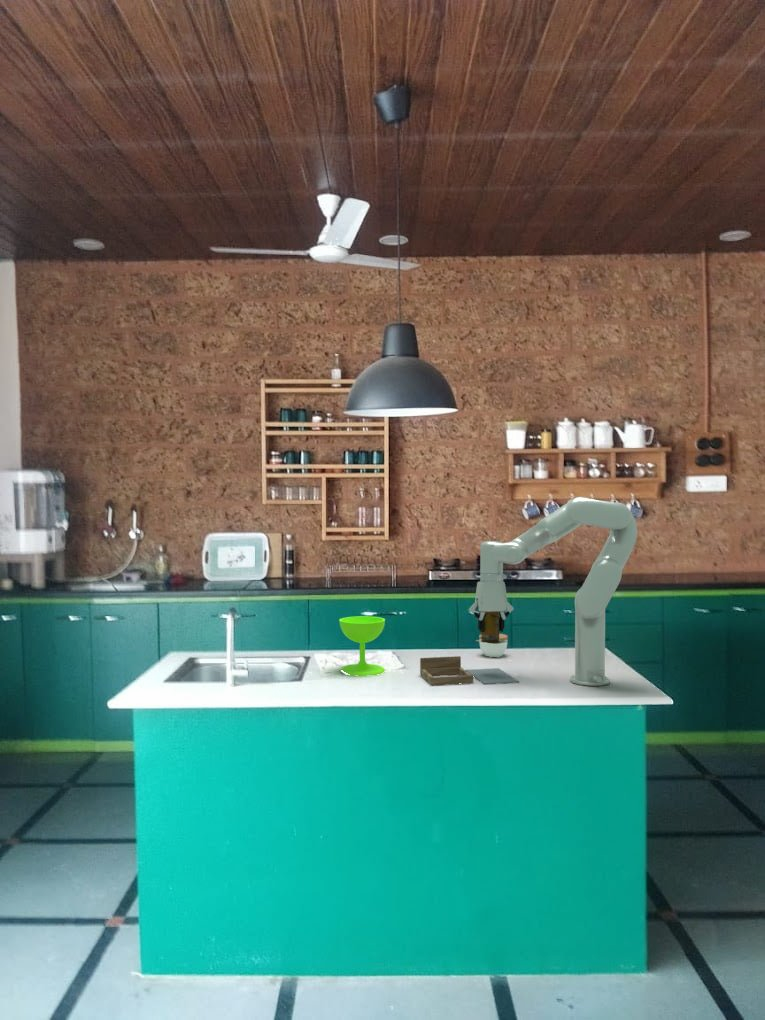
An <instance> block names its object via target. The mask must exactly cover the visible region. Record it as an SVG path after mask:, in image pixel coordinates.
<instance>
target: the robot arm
mask: <svg viewBox="0 0 765 1020" xmlns="http://www.w3.org/2000/svg"><path fill="white" fill-rule="evenodd" d="M582 525H585V526H589V527H595V528H603V529H609V534H608V538H607V539H606V541H605V543H604V545H603V548H602V549H601V551H600V553H599V555H598V556H597V558H596V559H595V561H593V564H592V566H591V569H590V571H589V572H588V575H587V577H586V578H585V581H584V582H583V583H582V586H581V587H580V588H579V589H578V590H577V591H576V594H575V597H574V607H575V611H574V615H575V617H574V619H575V621H574V622H575V623H574V625H575V626H574V631H575V634H574V674H573V675H571V676H570V678H569V681H570V682H572V683H574V684H576V685H581V686H589V687H590V686H592V687H595V686H606V685H608V684H610V683H611V682H610V681H611V680H610V678H609V677H607V676H606V670H605V669H606V608H607V606H608V604H609V603H610V600H611V598H612V597H613V595H614V594H615V591H616V590H617V588H618V587H619V584H620V582H621V580H622V577H623V576H622V575H623V573H622V571H623V569H624V567H625V565H626V563H627V562H628V560H629V558H630V556H631V554H632V551H633V550H634V547H635V544H636V542H637V537H638V526H637V522H636V518H635V517H634V514H632V512H631V510H630V509H629V507H628V506H627V505H626V504H624V503H622V502H617V501H615V502H613V501H606V500H599V499H594V498H588V497H585V496H577V497H575V498H573V499H571V500H570V501H567V503H565V504H564V505H562V506H560V507H559V508H558V509H556V510H554V511H553V512H551V513H549V514H548V515H547V516H545V517H543V518H542V519H541V520H540V521H538V522H537V523H536V524H535V525H533V526H532V527H531V528H529V529H528V530H527V531H525V532H524V533H521V534H520V535H519V536H517V537H515V538H514V539H513V540H511V541H507V542H501V541H495V540H489V541H487V540H486V541H483V542H481V544H480V548H479V549H480V554H479V555H480V560H479V561H480V564H479V565H480V567H479V568H480V569H479V572H480V573H479V574H480V575H479V578H480V581H477V583H476V591H475V599H474V603H472V605H471V606H470V607H469V608H468V610H469V612H470V613H471V614H472V615H473V616H474V617H475V618H476V619H477V629H478V631H479V632H480V633H481V632H484V621H483V617H484V614H485V612H498V614H499V632H502V633H503V632H504V630H505V620H506V619H507V617H508V616H509V615H510V614H511V612H513V611H514V610H515V608H514V606H513V605H511V603H510V602H509V601H508V594H507V590H506V589H507V588H506V584H505V581H504V580H505V579H507V578H508V575H507V573H506V574H505V573H504V564H507V565H517V564H521V562H523V561H524V560H525V559H526V558H528V557H529V556H531V555H533V554H534V553H536V552H537V551H539V550H541V549H542V548H544V547H545V546H547V545H550V544H553V543H555V542H556V541H559V540H560V539H562V538H563V537H564V536H566V535H568V534H569V533H571V532H573V531H574V530H576V529H577V528H579V527H580V526H582ZM477 611H478V612H477Z"/></svg>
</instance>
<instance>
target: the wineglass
mask: <svg viewBox="0 0 765 1020" xmlns="http://www.w3.org/2000/svg"><path fill="white" fill-rule="evenodd" d="M338 621H339V627H340V629H341V632H342V633H343V635H344V636H345V637H346V638H347V639H349V640H350V641H352V642H355V643H358V644H359V661H358V663H354V664H353V663H352V664H348V665H343V666H342V667H341V668H340V669H341V670H343V671H344V672H346V673H348V674H350V675H358V676H357V677H368V676H367V675H375V676H378V675H377V674H380V675H382V674H381V673H383V672H384V671H385V672H386V669H385V668H384V667H383V666H381V665H379V664H374V663H367V661H366V643H370V642H372V641H374V640H375V639H377V638H378V637H379V636H380V634H382V632H383V631H384V629H385V625H386V624H385V623H386V619H385V618H383V617H379V616H370V615H368V616H365V615H360V616H359V615H358V616H347V617H342V618H339V619H338ZM385 672H384V673H385ZM384 673H383V674H384Z"/></svg>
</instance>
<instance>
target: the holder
mask: <svg viewBox="0 0 765 1020" xmlns="http://www.w3.org/2000/svg"><path fill="white" fill-rule="evenodd" d="M461 657H462V656H459V655H456V656H436V657H435V656H434V657H420V658H419V668H420V669H419V672H420V673H419V675H421V676H422V677H423V680H425V682H426V683H428V682H429V683H430V684H431V685H436V686H446V685H445V684H455V685H460V684H459V683H473V684H474V677H473V675H471V674H470V673H468V672H467V671H466V670H467V669H464V668H463V667H461V664H462V663H461V659H462V658H461ZM456 674H459V675H460V676H459V675H456ZM440 675H448V676H440ZM421 676H420V677H421ZM422 677H421V678H422ZM429 683H428V684H429ZM430 684H429V685H430ZM431 685H430V686H431Z"/></svg>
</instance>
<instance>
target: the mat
mask: <svg viewBox="0 0 765 1020" xmlns="http://www.w3.org/2000/svg"><path fill="white" fill-rule="evenodd" d="M465 670H466V671H467V672H468V673H470V674H471V675H473V676H474V677H475V678H474V677H473V678H474V679H476V680H477V679H478V680H479V682H480V681H481V682H482V683H481V682H480V683H481V684H482V685H497V684H496V683H503V684H514V683H513V682H519V683H520V681H519V680H518V679H516V678H515V677H513V676H512V675H510V674H508V673H507V672H505V671H504V670H502V669H500V668H499V667H496V668H478V669H477V668H475V669H465ZM478 680H477V681H478ZM489 683H490V684H489Z"/></svg>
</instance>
